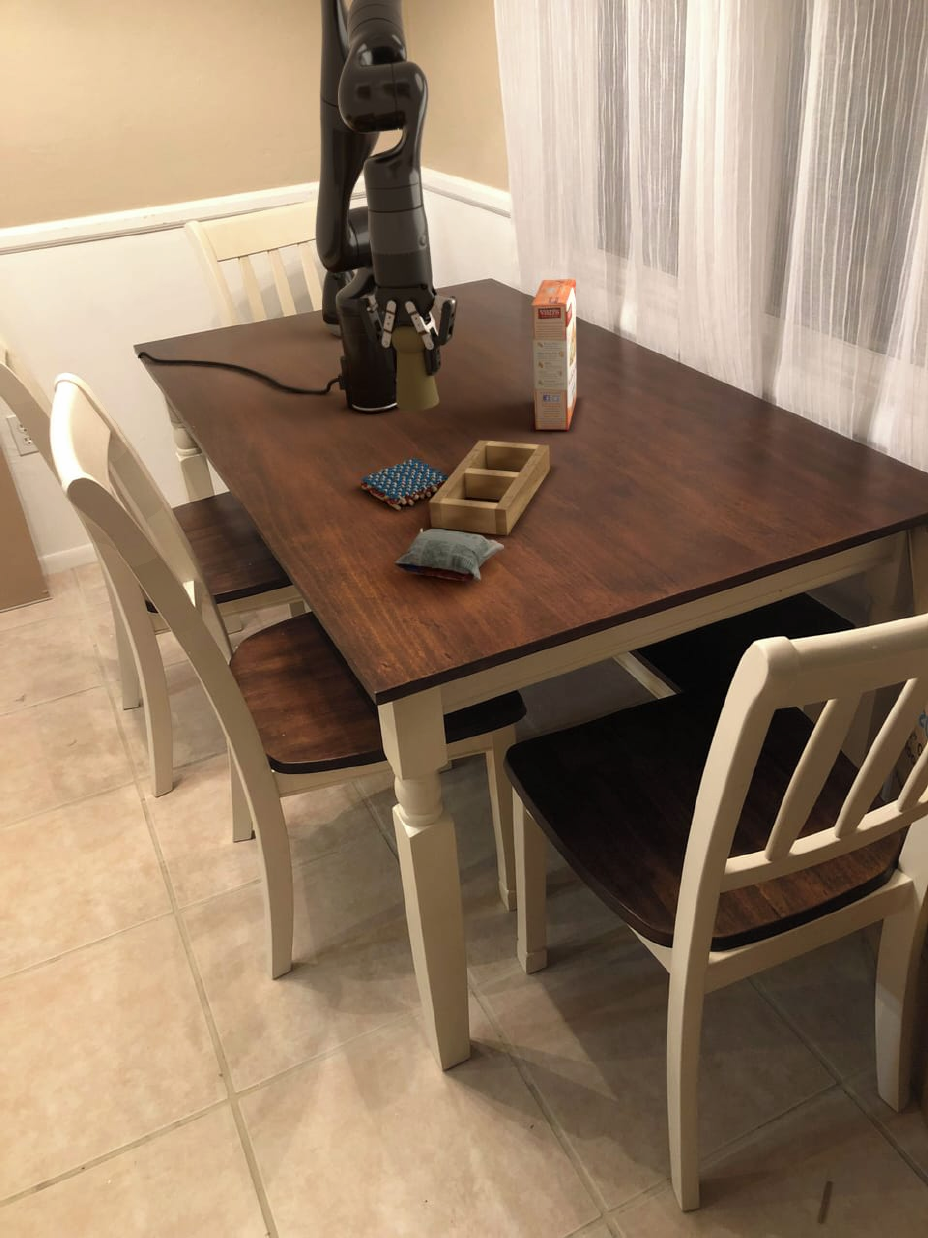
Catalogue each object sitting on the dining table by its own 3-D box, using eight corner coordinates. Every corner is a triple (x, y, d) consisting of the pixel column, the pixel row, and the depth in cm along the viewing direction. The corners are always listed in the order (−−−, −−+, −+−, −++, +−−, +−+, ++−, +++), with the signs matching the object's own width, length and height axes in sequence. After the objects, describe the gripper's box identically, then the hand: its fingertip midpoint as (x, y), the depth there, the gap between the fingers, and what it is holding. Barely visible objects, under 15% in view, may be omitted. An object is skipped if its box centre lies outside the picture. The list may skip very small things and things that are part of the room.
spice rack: (431, 527, 133) (428, 502, 131) (481, 463, 149) (479, 439, 147) (507, 535, 129) (505, 509, 127) (550, 469, 145) (549, 445, 143)
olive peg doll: (445, 395, 135) (438, 317, 128) (430, 412, 130) (422, 332, 124) (405, 393, 137) (396, 316, 130) (389, 409, 132) (379, 331, 126)
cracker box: (571, 431, 156) (567, 302, 144) (534, 431, 157) (528, 303, 146) (579, 399, 167) (577, 276, 156) (545, 399, 169) (540, 278, 157)
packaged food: (424, 546, 129) (420, 514, 126) (505, 558, 124) (503, 525, 122) (395, 579, 123) (390, 547, 120) (479, 594, 118) (476, 560, 115)
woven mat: (358, 489, 145) (356, 477, 144) (415, 467, 150) (414, 455, 149) (395, 512, 138) (393, 499, 137) (454, 488, 143) (453, 476, 141)
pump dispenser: (320, 342, 206) (308, 270, 198) (332, 326, 215) (320, 257, 206) (366, 340, 205) (355, 267, 196) (376, 325, 213) (366, 254, 205)
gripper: (463, 236, 122) (472, 365, 131) (361, 235, 126) (378, 360, 136) (441, 252, 116) (453, 386, 126) (336, 250, 121) (355, 379, 130)
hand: (414, 372), depth 131 cm, fingers closed on olive peg doll, 5 cm apart
